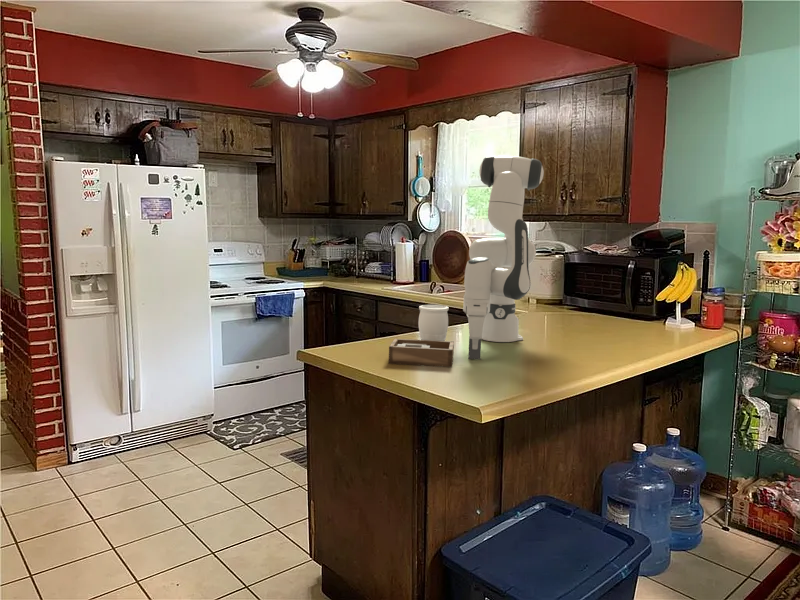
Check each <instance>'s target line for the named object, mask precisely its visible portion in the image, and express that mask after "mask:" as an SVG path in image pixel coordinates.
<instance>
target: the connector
mask: <svg viewBox="0 0 800 600" xmlns="http://www.w3.org/2000/svg"><path fill="white" fill-rule="evenodd" d="M481 353H482V339H479V340H478V349H472V339H470V335H469V336H468V355H467V356H468V357H467V358H468V360H481V357H482V356H481V355H482V354H481Z"/></svg>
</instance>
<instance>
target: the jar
mask: <svg viewBox="0 0 800 600" xmlns="http://www.w3.org/2000/svg"><path fill="white" fill-rule="evenodd" d="M418 309H419V315H418V322H417V323H418V331H419V340H433V341H446V339H447V333H448V331H449V329H448V328H449V315H448V311H449V306H447V305H441V304H422V305H419V307H418Z"/></svg>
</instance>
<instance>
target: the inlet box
mask: <svg viewBox="0 0 800 600" xmlns="http://www.w3.org/2000/svg"><path fill="white" fill-rule="evenodd" d="M454 351H455V341H447V340H445V341H433V340H421V339H408V338H394V339H393V341H392V342H391V343H390V345H389V346H388V364H391V365H404V366H405V365H407V366H421V365H424V367H439V366H443V368H452V367H453V363H452V362H454V353H455V352H454Z"/></svg>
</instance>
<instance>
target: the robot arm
mask: <svg viewBox="0 0 800 600" xmlns="http://www.w3.org/2000/svg"><path fill="white" fill-rule="evenodd" d="M478 170H479V172H478V174H479V178H480V181H481V182H482V183H483V185H485V186H487V187H488V188H491V187H492V188H491V191H490V195H489V202H488V207H487V218H488V222H489V223H490V224H491V226H492V227H493V228H494V229H495V230H497V231H499V232H500V233H502V234H504V237H500V238H499V237H494V238H493V237H485V238H479V239H475V240H473V242H472V243H471V245H470V246H469V250H468V257H469V259H468V261H467V262H466V266H465V270H464V280H463V283H464V284H463V285H464V294H463V306H462V311H463V312H464V313H465V314H466V317H467V320H468V335H469V336H470V339H472V349H478V340H479V339H481V340H484V341H489V342H496V343H510V342H512V343H513V342H516V341H517V342H518V341H523V340H524V337H523V336H522V335H521V334H519V329H520V328H519V325H520V323H519V322H520V320H519V318H518V316H517V315H516V309H517V307H516V303H515V300H516V301H517V300H521V299H522V298H524V296H526V295H527V294H528V293H529V290H531V289H530V288H531V277H530V271H529V266H530V265H532V263H533V262H534V260H535V258H536V255H537V249H536V246H535V244H534V243H533V241H532V240H531V239H529V231H528V225H527V223H526V221H524V218H523V215H524V213H523V211H524V206H525V205H524V204H525V194H526V193H525V192H526V191H525V189H527V191H530V190H534V189H536V188H538V187H539V186H540V184H541V183H542V181H543V179H544V166H543V163H542V162H541V160H540V159H537V158H528V157H524V156H519V155H518V156H517V155H498V156H496V155H487V156H485V157H484V158H483V160H482V162H481V164H480V166H479V169H478Z"/></svg>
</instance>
